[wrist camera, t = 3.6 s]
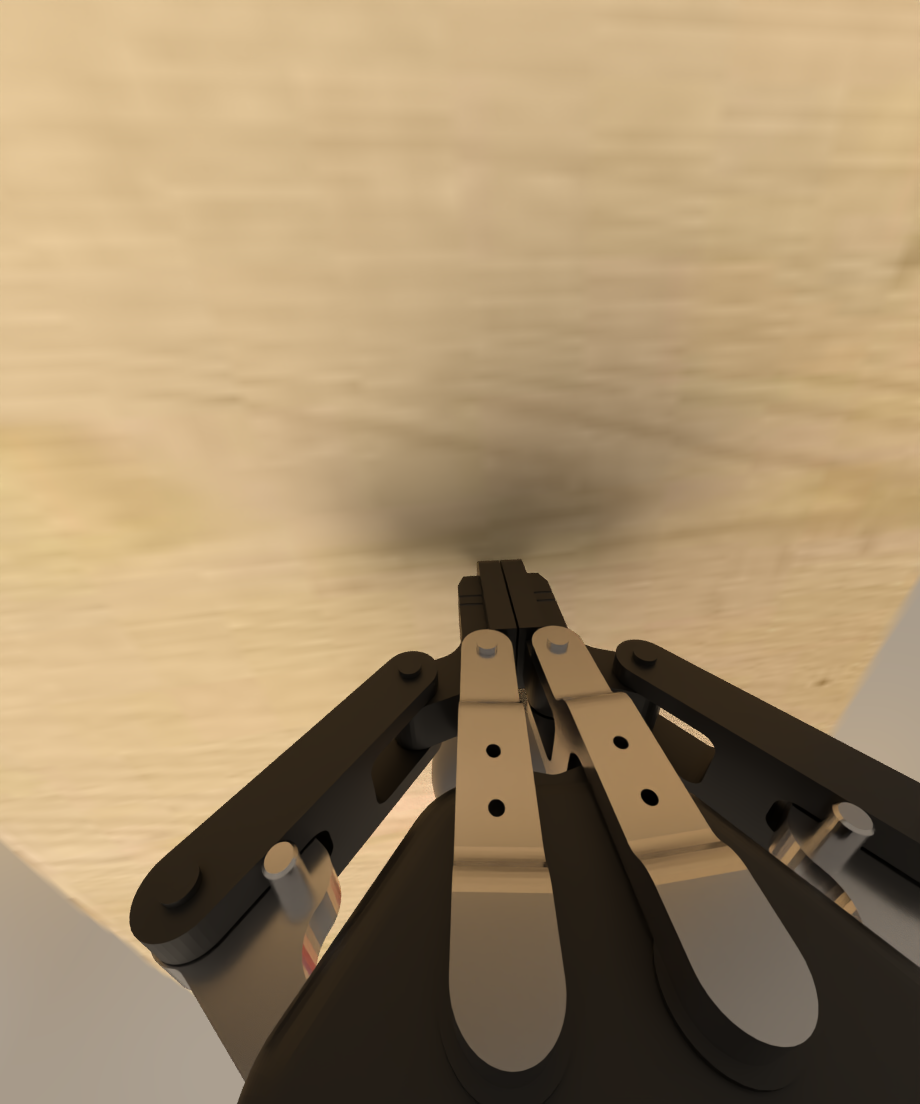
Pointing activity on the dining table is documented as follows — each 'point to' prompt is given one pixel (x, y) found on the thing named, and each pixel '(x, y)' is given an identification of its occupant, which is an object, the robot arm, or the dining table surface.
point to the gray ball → (447, 762)
